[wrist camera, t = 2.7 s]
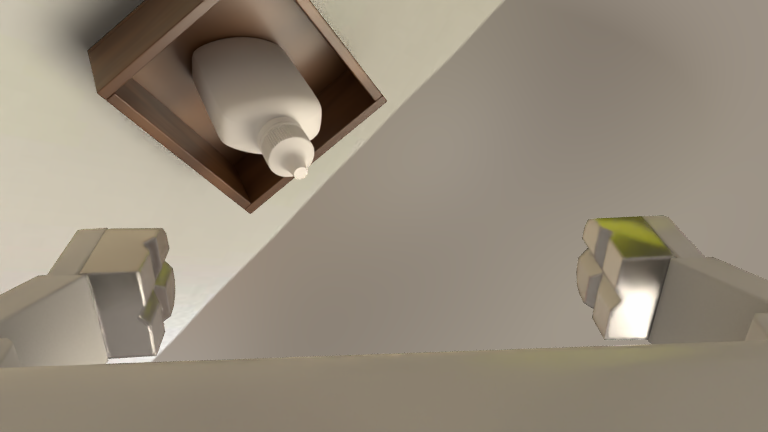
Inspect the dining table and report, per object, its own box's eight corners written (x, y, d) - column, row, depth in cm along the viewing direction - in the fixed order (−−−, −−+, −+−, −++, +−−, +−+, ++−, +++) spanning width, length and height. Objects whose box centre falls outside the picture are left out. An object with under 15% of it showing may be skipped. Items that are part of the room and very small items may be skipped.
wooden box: (86, 50, 36) (96, 93, 32) (241, -85, 35) (267, -56, 31) (231, 171, 45) (250, 214, 41) (357, 66, 44) (387, 101, 40)
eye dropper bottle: (258, 108, 42) (322, 221, 34) (177, 74, 38) (227, 192, 30) (293, 51, 41) (369, 155, 32) (213, 10, 37) (275, 116, 29)
